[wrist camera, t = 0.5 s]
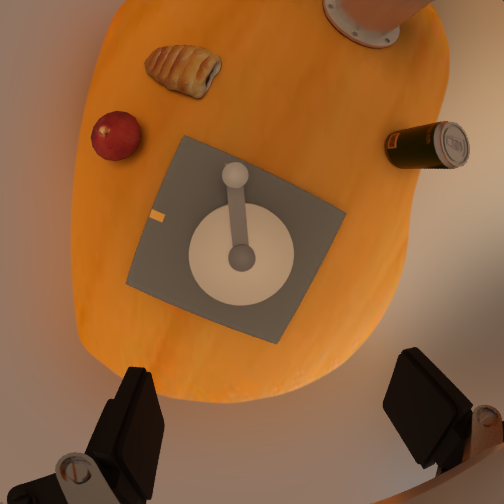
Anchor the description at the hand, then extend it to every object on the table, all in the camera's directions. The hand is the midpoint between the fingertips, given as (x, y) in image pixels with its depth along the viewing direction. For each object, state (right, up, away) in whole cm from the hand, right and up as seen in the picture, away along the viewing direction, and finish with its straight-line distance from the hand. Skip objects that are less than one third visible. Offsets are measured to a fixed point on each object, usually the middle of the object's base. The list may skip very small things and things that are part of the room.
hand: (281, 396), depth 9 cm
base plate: (-3, +6, +26) cm, 27 cm away
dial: (-3, +7, +24) cm, 26 cm away
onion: (-17, +19, +22) cm, 33 cm away
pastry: (-9, +28, +20) cm, 36 cm away
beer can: (+19, +19, +25) cm, 37 cm away
